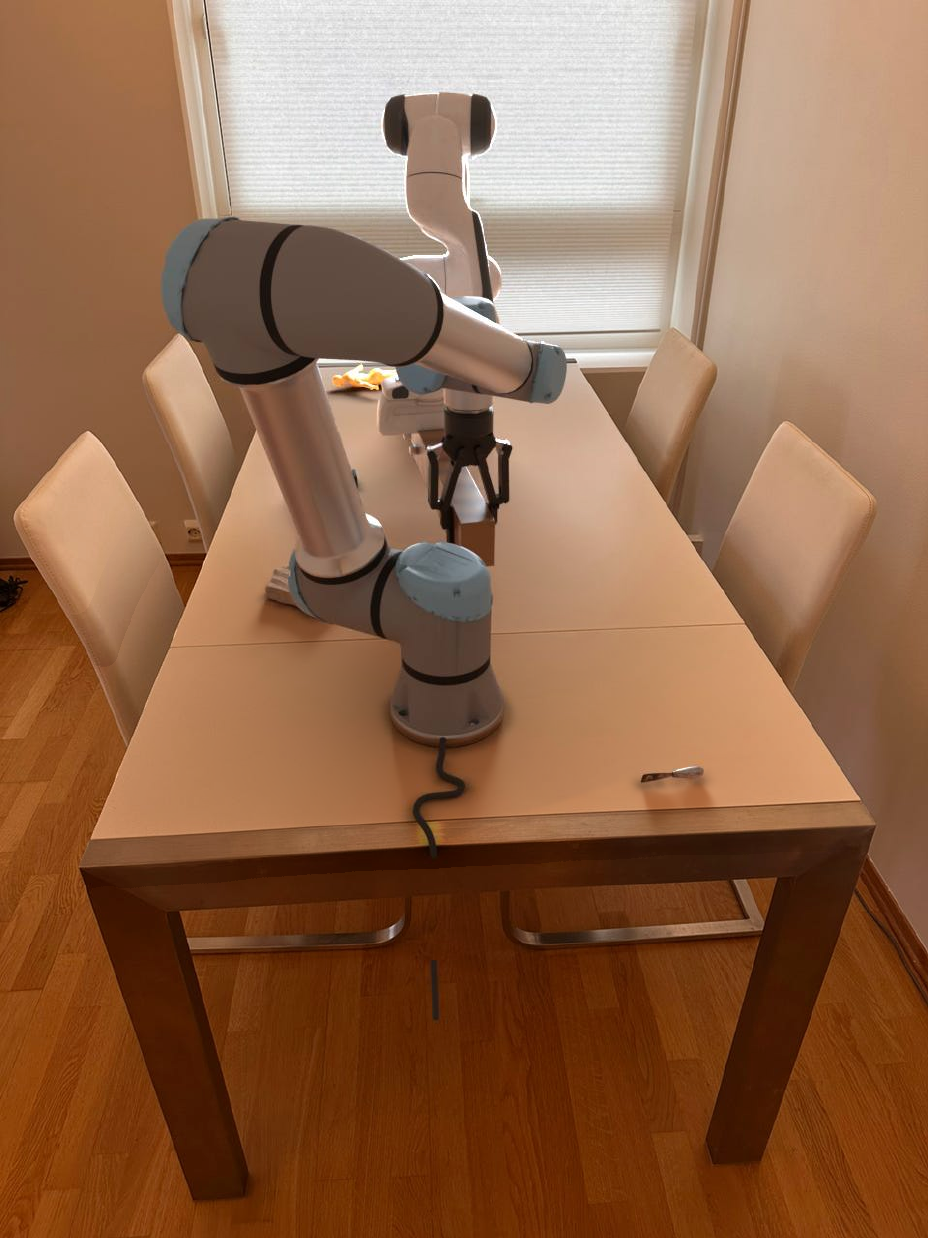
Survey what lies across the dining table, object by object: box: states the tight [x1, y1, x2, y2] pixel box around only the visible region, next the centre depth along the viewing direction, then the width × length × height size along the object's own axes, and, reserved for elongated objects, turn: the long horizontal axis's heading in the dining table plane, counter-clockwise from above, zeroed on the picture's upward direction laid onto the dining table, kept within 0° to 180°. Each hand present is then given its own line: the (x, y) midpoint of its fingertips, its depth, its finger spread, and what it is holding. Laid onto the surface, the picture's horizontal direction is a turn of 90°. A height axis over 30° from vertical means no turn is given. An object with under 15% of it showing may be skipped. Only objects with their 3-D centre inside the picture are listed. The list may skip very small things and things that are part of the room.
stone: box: [264, 565, 300, 609], centre depth 147 cm, size 13×12×3 cm
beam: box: [410, 429, 496, 568], centre depth 160 cm, size 50×5×8 cm, turn 12°
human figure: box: [331, 361, 397, 391], centre depth 243 cm, size 20×20×4 cm
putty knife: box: [640, 765, 705, 784], centre depth 109 cm, size 1×8×2 cm, turn 103°
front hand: (468, 543), depth 146 cm, fingers closed on beam, 5 cm apart
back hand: (430, 452), depth 175 cm, fingers closed on beam, 5 cm apart
